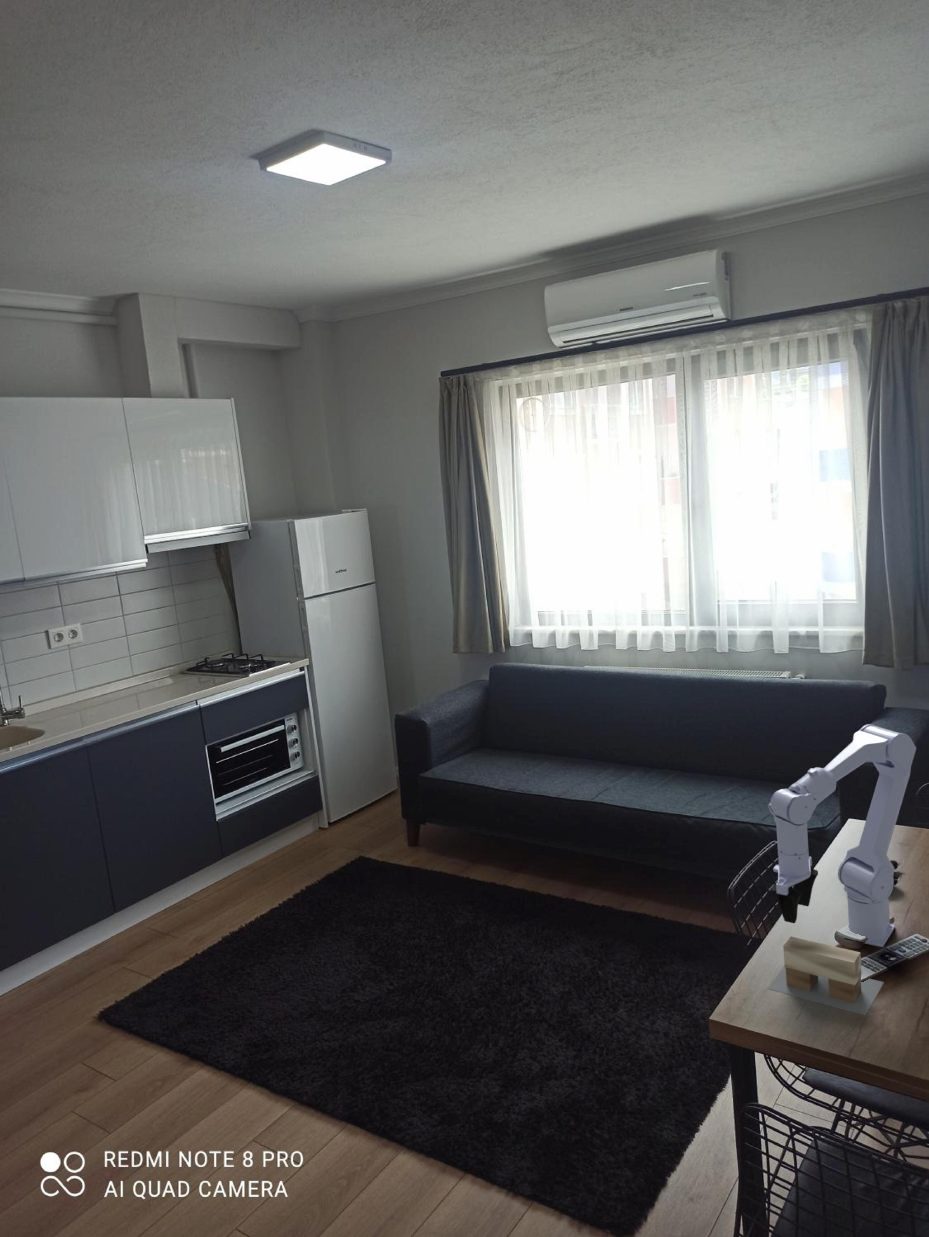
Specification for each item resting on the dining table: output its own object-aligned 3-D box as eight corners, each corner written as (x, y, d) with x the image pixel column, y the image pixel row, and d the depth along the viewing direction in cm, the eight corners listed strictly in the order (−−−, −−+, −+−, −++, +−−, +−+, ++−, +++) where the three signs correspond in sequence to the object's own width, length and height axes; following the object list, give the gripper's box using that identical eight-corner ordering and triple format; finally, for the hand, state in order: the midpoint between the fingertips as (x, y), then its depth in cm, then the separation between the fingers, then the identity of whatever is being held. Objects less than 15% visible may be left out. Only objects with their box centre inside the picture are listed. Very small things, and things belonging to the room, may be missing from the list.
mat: (789, 960, 186) (789, 958, 186) (884, 983, 175) (883, 982, 174) (767, 989, 177) (767, 988, 177) (865, 1016, 165) (865, 1015, 165)
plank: (792, 957, 180) (790, 936, 179) (861, 974, 172) (860, 952, 171) (784, 967, 177) (783, 945, 176) (855, 985, 169) (854, 962, 168)
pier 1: (794, 973, 181) (793, 957, 180) (818, 979, 178) (817, 962, 177) (786, 985, 177) (785, 968, 177) (810, 991, 174) (809, 974, 174)
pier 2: (836, 984, 175) (835, 967, 175) (861, 990, 173) (860, 973, 172) (829, 996, 172) (828, 979, 172) (854, 1003, 169) (853, 985, 169)
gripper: (786, 832, 190) (789, 893, 193) (759, 860, 179) (763, 924, 182) (820, 838, 186) (824, 900, 188) (795, 866, 175) (799, 932, 177)
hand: (796, 913), depth 185 cm, fingers open, 7 cm apart
